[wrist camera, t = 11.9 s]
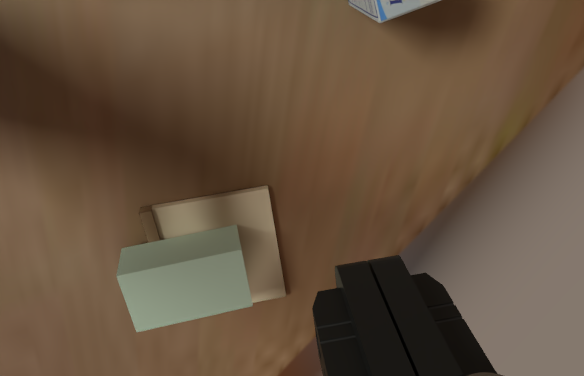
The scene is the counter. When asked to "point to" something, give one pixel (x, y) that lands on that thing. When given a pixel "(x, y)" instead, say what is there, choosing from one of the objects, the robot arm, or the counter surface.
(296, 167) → the counter surface
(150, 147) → the counter surface
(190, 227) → the beech board
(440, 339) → the robot arm
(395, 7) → the medicine box
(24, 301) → the counter surface
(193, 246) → the sage block
